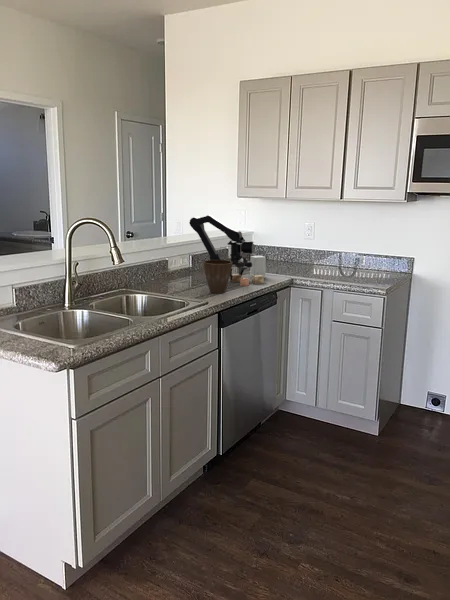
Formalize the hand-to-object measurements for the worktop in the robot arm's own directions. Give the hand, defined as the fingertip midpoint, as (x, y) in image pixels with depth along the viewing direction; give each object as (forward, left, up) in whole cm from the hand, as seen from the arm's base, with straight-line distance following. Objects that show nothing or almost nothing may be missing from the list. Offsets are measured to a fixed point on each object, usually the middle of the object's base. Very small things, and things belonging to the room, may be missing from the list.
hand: (235, 279), depth 294 cm
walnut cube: (0, 0, -1) cm, 1 cm away
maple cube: (+10, -9, -1) cm, 13 cm away
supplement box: (+18, +8, -1) cm, 20 cm away
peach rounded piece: (0, -13, -1) cm, 13 cm away
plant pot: (-20, -24, -1) cm, 31 cm away
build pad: (+10, -9, -1) cm, 13 cm away
